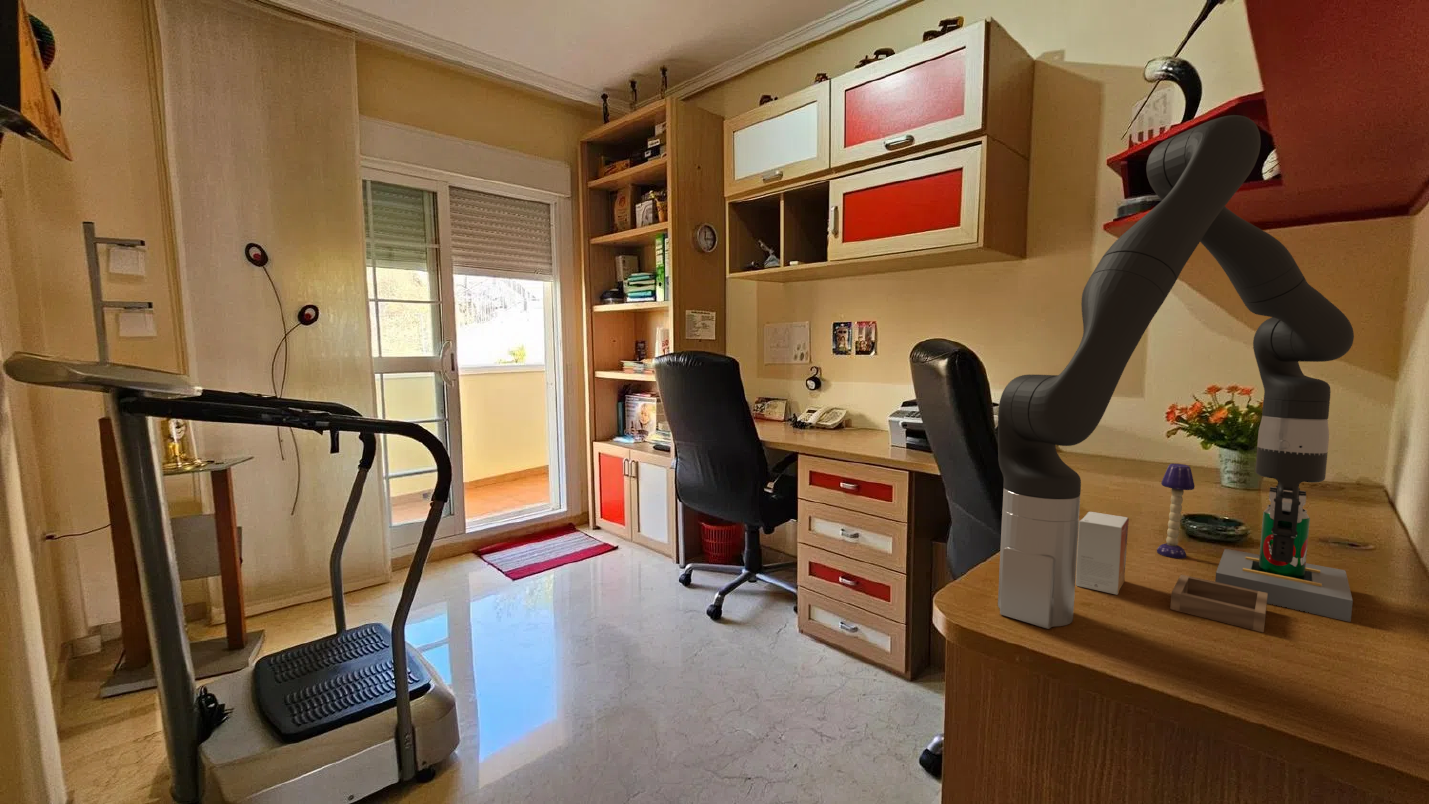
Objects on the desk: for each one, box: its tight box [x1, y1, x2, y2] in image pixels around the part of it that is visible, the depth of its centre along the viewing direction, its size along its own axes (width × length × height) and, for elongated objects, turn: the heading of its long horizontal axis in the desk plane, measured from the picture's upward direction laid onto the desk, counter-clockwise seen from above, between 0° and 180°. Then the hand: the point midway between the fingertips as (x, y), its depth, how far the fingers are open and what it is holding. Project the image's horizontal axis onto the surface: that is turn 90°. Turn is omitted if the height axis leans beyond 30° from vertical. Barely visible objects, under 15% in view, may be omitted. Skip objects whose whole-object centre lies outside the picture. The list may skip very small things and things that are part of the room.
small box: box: [1075, 511, 1130, 596], centre depth 90 cm, size 8×6×10 cm
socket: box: [1214, 548, 1354, 623], centre depth 88 cm, size 16×14×3 cm
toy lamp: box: [1156, 463, 1195, 559], centre depth 103 cm, size 5×5×17 cm
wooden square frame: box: [1170, 574, 1268, 633], centre depth 81 cm, size 10×10×2 cm
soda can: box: [1258, 504, 1311, 580], centre depth 88 cm, size 5×5×12 cm
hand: (1282, 556), depth 88 cm, fingers closed on soda can, 5 cm apart
